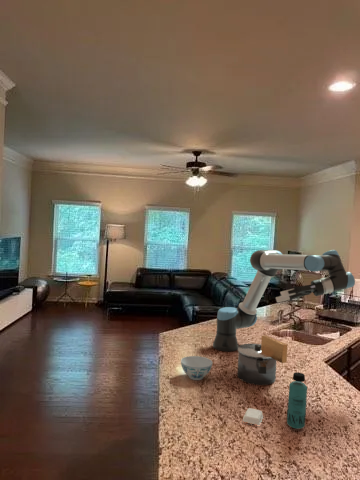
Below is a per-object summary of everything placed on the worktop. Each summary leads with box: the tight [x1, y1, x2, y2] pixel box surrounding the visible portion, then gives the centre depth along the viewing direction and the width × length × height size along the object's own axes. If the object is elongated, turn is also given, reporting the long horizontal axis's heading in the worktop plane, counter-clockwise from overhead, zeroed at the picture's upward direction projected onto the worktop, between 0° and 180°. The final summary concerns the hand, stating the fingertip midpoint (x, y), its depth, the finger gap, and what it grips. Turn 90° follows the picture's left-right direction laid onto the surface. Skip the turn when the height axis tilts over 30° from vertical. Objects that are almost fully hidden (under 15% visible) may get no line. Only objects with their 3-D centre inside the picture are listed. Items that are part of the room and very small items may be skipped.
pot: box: [237, 352, 278, 386], centre depth 181 cm, size 32×18×12 cm, turn 175°
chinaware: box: [180, 355, 213, 381], centre depth 181 cm, size 15×15×8 cm
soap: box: [242, 407, 264, 426], centre depth 143 cm, size 9×7×3 cm
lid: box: [237, 334, 288, 364], centre depth 179 cm, size 28×19×9 cm, turn 25°
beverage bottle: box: [286, 372, 308, 430], centre depth 137 cm, size 6×7×20 cm
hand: (278, 297), depth 184 cm, fingers open, 13 cm apart
